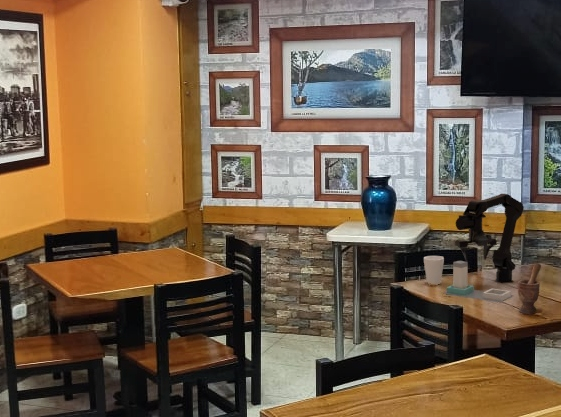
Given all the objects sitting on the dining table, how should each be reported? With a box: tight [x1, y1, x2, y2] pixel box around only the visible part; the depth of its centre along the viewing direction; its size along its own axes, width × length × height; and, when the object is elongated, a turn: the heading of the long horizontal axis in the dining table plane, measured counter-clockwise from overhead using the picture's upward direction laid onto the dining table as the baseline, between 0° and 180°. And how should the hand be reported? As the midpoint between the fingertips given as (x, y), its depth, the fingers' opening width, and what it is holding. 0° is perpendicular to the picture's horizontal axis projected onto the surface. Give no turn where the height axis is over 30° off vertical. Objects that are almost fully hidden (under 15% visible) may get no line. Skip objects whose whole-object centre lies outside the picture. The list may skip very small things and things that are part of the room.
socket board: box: [442, 284, 515, 304], centre depth 366 cm, size 28×14×4 cm, turn 51°
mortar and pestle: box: [517, 262, 542, 315], centre depth 339 cm, size 12×9×20 cm
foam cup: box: [423, 255, 445, 284], centre depth 390 cm, size 10×9×13 cm
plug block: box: [452, 260, 469, 289], centre depth 370 cm, size 4×4×14 cm
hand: (475, 260), depth 381 cm, fingers open, 9 cm apart
